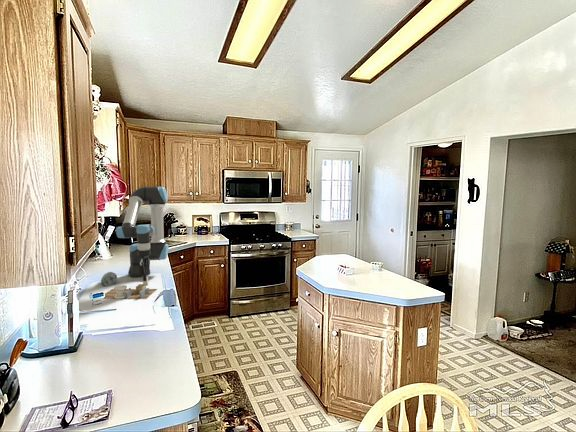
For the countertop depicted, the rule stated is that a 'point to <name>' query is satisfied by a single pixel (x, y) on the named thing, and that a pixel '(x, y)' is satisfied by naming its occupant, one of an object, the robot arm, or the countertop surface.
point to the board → (134, 295)
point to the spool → (108, 279)
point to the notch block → (141, 293)
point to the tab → (140, 287)
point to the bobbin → (120, 292)
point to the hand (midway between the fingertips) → (145, 285)
